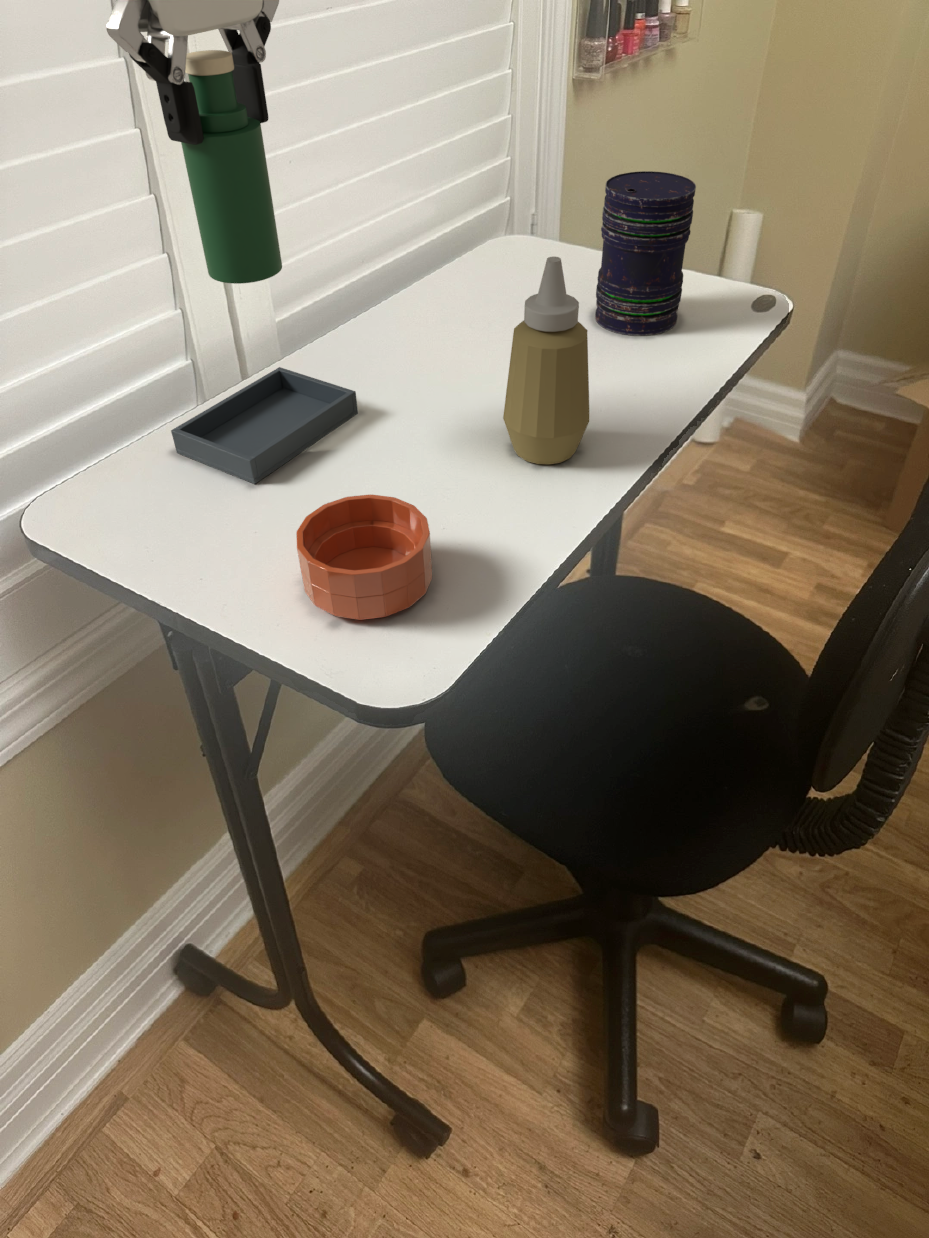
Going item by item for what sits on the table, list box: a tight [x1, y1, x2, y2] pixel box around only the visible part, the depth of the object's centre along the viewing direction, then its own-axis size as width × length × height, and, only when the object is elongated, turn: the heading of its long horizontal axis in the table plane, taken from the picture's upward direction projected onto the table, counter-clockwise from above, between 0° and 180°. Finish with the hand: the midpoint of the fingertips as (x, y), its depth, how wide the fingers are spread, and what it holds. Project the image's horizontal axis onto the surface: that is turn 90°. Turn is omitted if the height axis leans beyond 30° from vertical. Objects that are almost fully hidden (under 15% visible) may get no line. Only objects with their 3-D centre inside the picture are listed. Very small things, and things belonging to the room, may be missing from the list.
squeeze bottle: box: [502, 256, 590, 465], centre depth 80 cm, size 8×8×18 cm
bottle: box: [180, 49, 283, 285], centre depth 72 cm, size 6×6×16 cm
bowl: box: [296, 494, 433, 621], centre depth 70 cm, size 10×10×5 cm
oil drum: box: [594, 170, 697, 337], centre depth 103 cm, size 10×10×15 cm
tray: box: [170, 366, 359, 485], centre depth 89 cm, size 15×10×2 cm
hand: (219, 128), depth 70 cm, fingers closed on bottle, 6 cm apart
